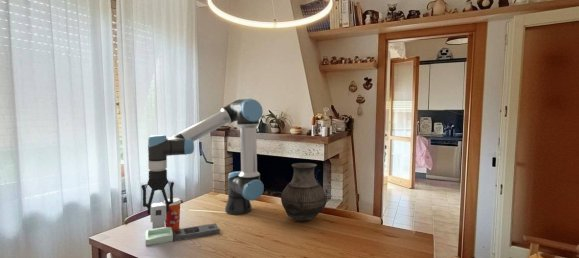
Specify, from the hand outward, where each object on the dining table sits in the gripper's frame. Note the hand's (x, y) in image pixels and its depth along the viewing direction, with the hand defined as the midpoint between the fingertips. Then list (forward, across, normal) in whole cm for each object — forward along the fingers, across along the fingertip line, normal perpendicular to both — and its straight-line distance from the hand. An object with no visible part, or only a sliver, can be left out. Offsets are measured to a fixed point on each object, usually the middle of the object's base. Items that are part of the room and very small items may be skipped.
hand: (158, 219), depth 132 cm
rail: (+8, -16, +2) cm, 18 cm away
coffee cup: (+9, -6, -8) cm, 14 cm away
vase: (+8, -71, +7) cm, 72 cm away
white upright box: (+3, 0, 0) cm, 3 cm away
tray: (+9, 0, 0) cm, 9 cm away
